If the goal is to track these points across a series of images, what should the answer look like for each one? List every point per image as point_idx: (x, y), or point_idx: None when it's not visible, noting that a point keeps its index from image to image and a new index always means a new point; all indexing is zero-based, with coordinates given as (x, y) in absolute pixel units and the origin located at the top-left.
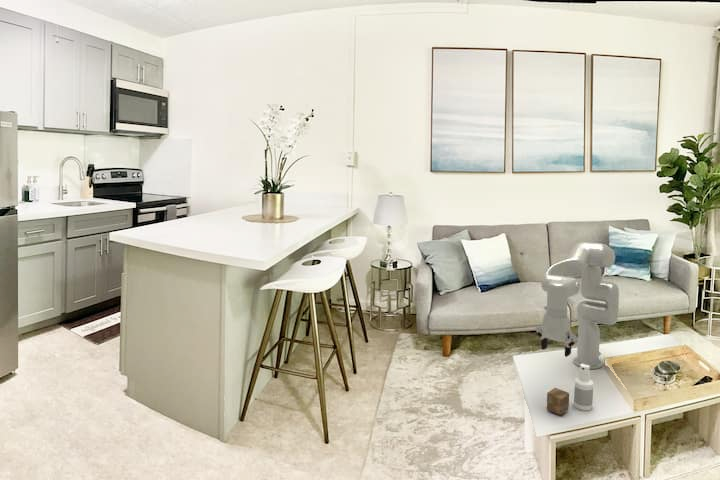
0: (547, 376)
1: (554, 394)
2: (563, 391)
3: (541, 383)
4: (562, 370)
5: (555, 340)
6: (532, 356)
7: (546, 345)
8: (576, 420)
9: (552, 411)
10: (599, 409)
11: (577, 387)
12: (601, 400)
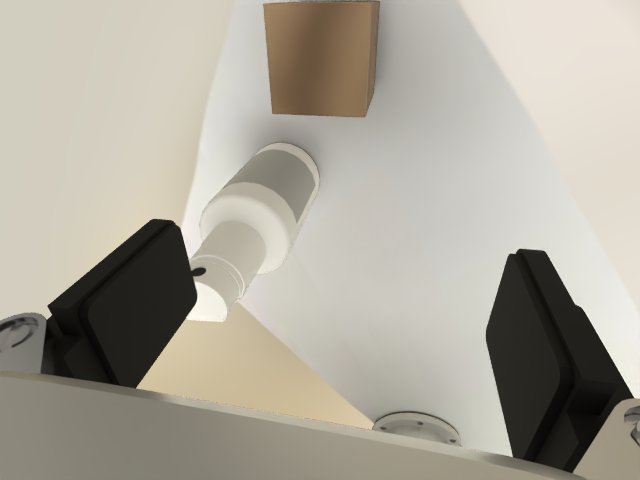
0: None
1: (322, 18)
2: (303, 106)
3: (511, 250)
4: (469, 376)
5: (145, 396)
6: None
7: (496, 349)
8: (238, 38)
9: (344, 1)
10: None
11: (261, 186)
12: None
